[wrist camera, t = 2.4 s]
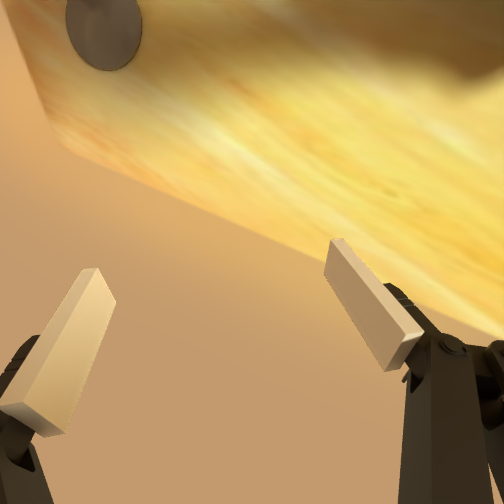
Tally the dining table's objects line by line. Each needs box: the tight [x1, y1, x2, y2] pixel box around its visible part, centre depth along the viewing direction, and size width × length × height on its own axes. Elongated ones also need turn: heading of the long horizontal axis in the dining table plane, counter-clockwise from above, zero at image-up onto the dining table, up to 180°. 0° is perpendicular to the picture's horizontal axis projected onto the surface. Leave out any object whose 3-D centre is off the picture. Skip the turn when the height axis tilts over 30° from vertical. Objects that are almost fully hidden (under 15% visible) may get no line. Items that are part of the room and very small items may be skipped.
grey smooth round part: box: [66, 0, 142, 70], centre depth 33 cm, size 11×11×1 cm
